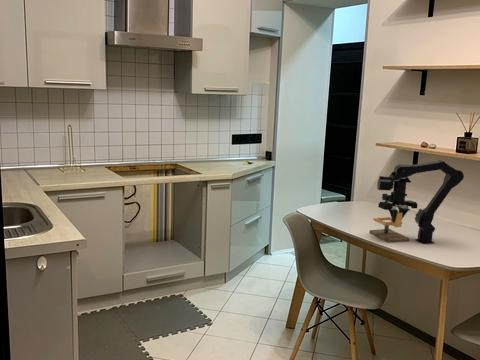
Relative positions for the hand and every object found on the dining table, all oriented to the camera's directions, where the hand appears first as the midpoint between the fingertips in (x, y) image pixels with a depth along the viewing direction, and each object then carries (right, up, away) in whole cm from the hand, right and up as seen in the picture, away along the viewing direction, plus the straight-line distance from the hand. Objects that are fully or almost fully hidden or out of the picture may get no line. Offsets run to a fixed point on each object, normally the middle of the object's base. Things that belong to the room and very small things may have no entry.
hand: (396, 222), depth 230 cm
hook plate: (-2, -8, +6) cm, 10 cm away
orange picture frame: (-2, -1, +5) cm, 5 cm away
